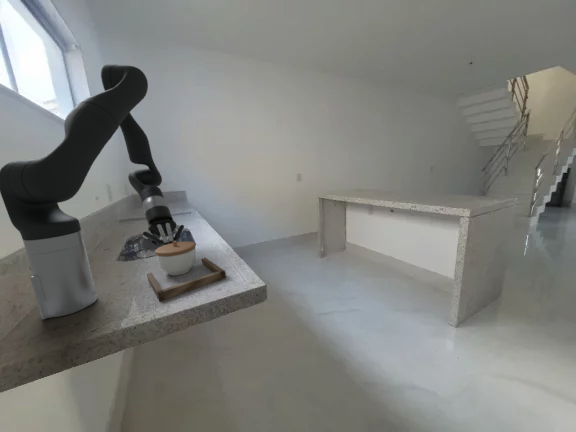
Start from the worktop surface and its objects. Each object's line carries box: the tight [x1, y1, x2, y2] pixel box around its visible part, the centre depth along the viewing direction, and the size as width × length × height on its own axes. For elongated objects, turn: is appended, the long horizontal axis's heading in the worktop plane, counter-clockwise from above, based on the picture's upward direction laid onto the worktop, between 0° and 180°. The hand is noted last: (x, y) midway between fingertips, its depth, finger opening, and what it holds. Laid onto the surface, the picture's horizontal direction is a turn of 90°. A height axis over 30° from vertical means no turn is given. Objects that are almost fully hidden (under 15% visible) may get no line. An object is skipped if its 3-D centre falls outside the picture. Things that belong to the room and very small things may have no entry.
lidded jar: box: [155, 241, 197, 277], centre depth 70 cm, size 11×11×9 cm
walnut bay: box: [146, 257, 227, 302], centre depth 65 cm, size 16×15×2 cm
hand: (172, 253), depth 75 cm, fingers closed
